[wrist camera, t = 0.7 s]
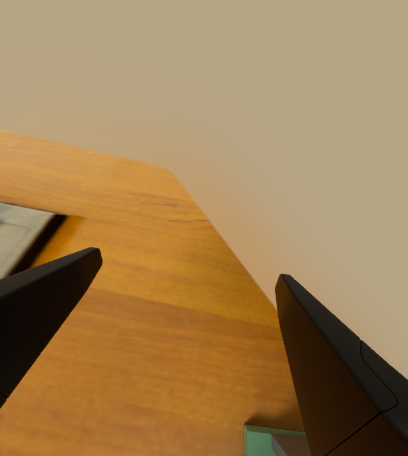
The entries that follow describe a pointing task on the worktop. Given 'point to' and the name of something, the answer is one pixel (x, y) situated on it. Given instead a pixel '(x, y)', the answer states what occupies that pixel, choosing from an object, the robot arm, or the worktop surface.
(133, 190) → the worktop surface
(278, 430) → the board
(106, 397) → the worktop surface
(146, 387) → the worktop surface
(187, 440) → the worktop surface
